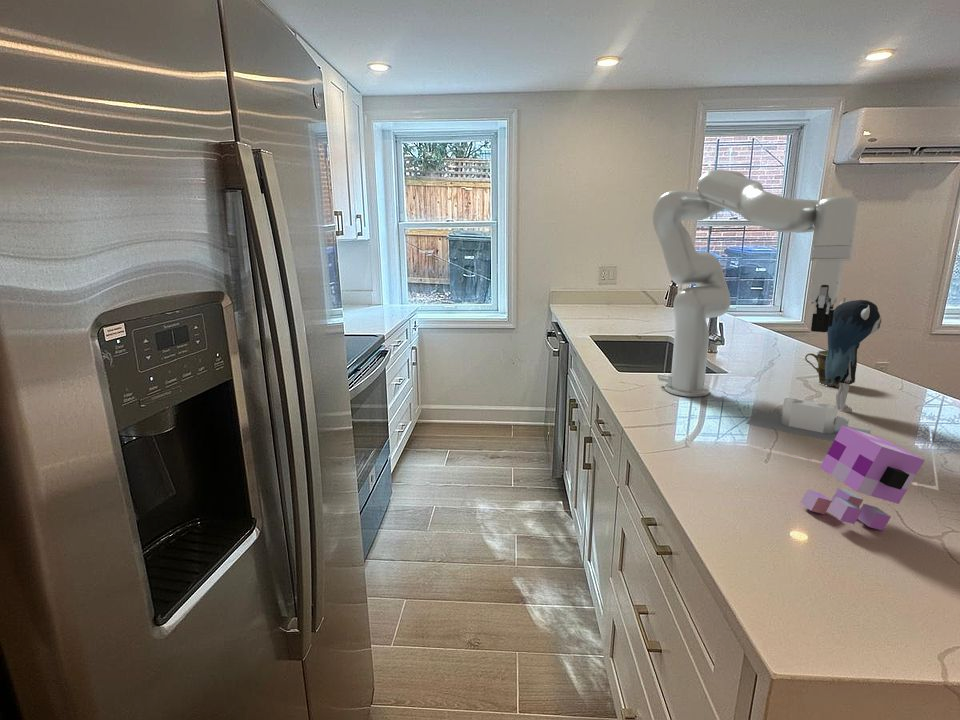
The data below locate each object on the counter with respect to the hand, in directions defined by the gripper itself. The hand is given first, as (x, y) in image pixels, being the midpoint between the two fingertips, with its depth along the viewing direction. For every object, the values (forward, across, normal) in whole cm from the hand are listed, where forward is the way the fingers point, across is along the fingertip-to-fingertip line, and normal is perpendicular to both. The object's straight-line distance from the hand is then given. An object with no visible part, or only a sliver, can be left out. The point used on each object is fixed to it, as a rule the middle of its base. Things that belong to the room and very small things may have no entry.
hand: (821, 328), depth 118 cm
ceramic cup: (+24, -48, -1) cm, 54 cm away
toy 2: (+26, +43, +11) cm, 51 cm away
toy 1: (+25, -19, +5) cm, 32 cm away
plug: (+24, +1, +1) cm, 24 cm away
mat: (+25, +1, 0) cm, 25 cm away
